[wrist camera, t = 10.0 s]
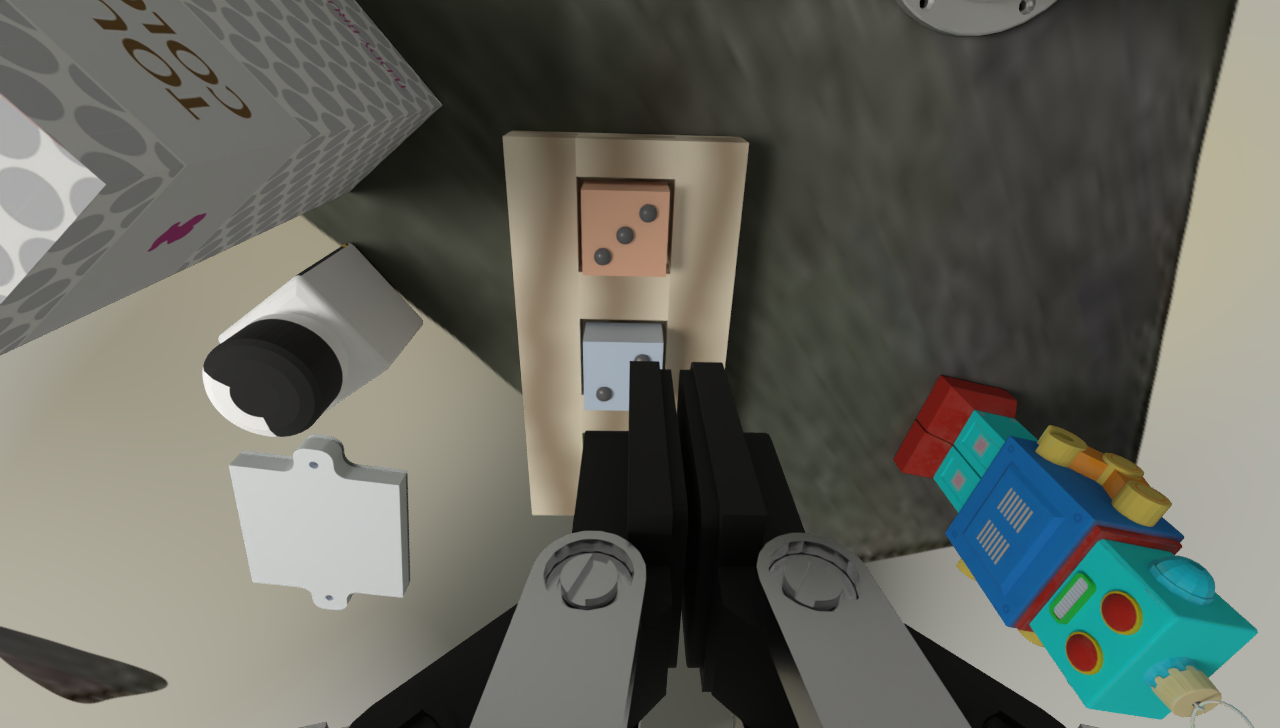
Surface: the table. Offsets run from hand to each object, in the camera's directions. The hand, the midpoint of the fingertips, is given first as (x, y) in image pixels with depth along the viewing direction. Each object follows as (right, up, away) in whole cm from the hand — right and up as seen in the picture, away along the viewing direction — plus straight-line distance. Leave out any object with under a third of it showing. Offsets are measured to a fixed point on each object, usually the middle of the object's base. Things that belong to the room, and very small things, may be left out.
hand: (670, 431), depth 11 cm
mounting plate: (-27, -12, +40) cm, 50 cm away
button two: (-2, +2, +29) cm, 29 cm away
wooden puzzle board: (-2, +3, +31) cm, 31 cm away
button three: (-2, +10, +25) cm, 27 cm away
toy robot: (+24, -4, +35) cm, 43 cm away
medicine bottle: (-21, +5, +30) cm, 37 cm away
